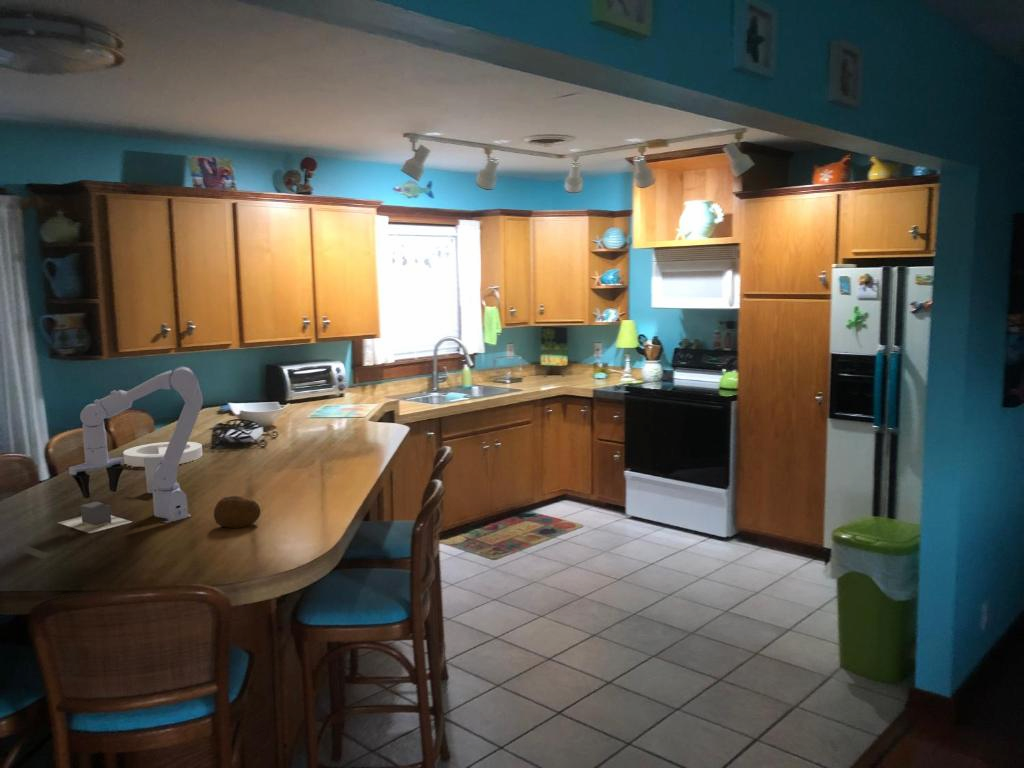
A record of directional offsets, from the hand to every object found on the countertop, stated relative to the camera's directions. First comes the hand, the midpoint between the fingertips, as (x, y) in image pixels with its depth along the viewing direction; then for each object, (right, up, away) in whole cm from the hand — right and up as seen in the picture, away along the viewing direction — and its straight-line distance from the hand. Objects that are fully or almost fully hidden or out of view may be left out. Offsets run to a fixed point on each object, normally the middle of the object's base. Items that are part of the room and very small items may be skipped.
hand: (100, 494), depth 221 cm
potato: (+39, -9, -3) cm, 40 cm away
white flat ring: (-20, +1, +85) cm, 88 cm away
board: (-1, -9, 0) cm, 9 cm away
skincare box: (0, -5, +37) cm, 37 cm away
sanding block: (-1, -8, -1) cm, 8 cm away
